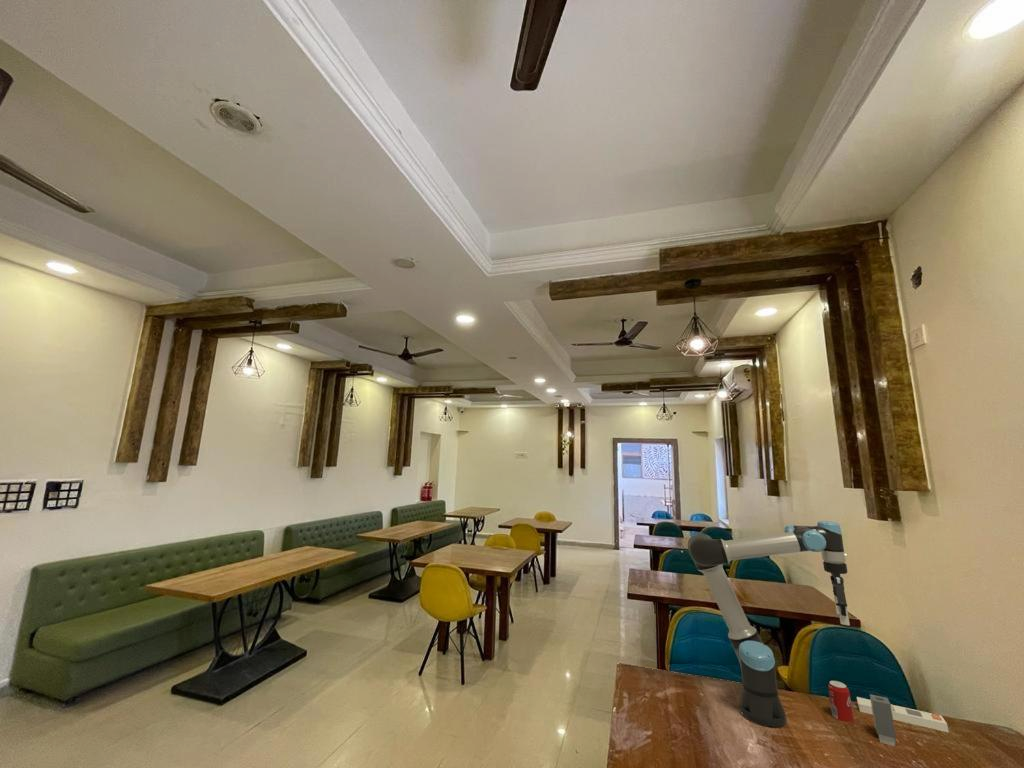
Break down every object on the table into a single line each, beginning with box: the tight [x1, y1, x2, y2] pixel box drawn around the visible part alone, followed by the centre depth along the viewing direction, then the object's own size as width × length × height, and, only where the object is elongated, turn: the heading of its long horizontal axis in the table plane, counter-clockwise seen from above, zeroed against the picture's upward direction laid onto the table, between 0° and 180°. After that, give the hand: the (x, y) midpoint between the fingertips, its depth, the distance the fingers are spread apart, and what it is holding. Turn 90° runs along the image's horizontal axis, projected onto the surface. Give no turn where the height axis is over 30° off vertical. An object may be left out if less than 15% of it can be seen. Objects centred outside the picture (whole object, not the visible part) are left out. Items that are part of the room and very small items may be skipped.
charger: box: [869, 693, 897, 747], centre depth 142 cm, size 5×5×13 cm
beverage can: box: [827, 680, 854, 724], centre depth 154 cm, size 6×6×12 cm
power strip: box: [851, 696, 950, 733], centre depth 154 cm, size 27×6×4 cm, turn 58°
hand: (842, 619), depth 163 cm, fingers open, 13 cm apart
